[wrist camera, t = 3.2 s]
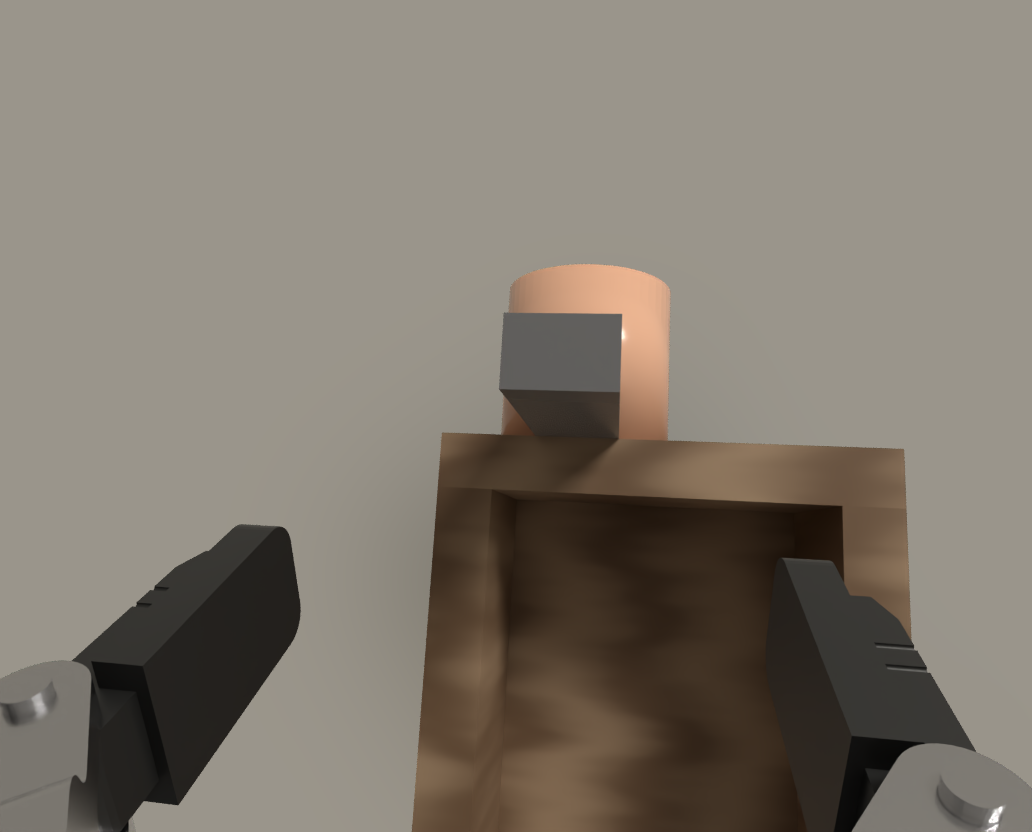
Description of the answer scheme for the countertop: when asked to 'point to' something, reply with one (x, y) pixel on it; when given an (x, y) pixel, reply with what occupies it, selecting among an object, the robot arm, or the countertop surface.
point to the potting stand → (629, 626)
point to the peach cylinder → (586, 354)
